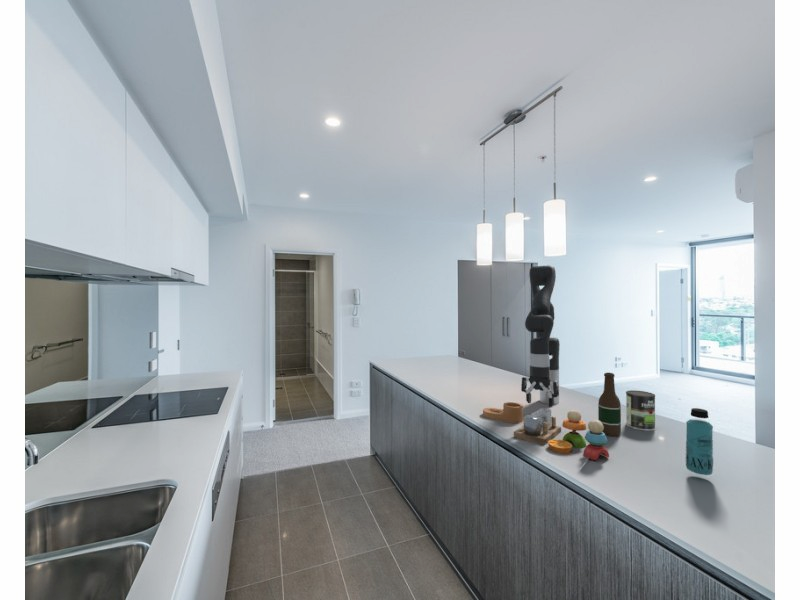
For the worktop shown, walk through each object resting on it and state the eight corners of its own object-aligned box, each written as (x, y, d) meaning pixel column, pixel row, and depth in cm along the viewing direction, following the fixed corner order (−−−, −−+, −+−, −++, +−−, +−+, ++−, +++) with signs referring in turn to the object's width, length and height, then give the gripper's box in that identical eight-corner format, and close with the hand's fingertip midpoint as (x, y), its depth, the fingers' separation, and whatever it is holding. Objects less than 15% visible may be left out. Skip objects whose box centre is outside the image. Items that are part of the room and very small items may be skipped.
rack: (531, 425, 155) (531, 410, 155) (561, 431, 147) (561, 416, 147) (513, 436, 141) (513, 421, 141) (544, 444, 133) (544, 428, 133)
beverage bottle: (680, 470, 113) (679, 406, 113) (699, 469, 114) (699, 405, 114) (699, 481, 106) (698, 412, 107) (719, 480, 107) (719, 412, 107)
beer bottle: (619, 431, 147) (619, 372, 147) (622, 438, 140) (621, 375, 140) (597, 428, 150) (597, 370, 150) (599, 434, 143) (598, 374, 143)
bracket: (525, 419, 163) (525, 404, 163) (519, 424, 156) (519, 408, 156) (487, 412, 173) (487, 398, 173) (480, 417, 167) (480, 401, 167)
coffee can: (661, 430, 148) (661, 395, 149) (640, 432, 146) (640, 397, 146) (640, 421, 159) (640, 389, 159) (620, 423, 156) (620, 390, 157)
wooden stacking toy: (540, 446, 132) (540, 412, 133) (572, 438, 140) (572, 405, 140) (585, 466, 116) (584, 427, 116) (618, 455, 124) (618, 419, 124)
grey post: (539, 421, 153) (539, 407, 153) (553, 424, 149) (553, 410, 149) (521, 433, 140) (521, 417, 140) (537, 437, 136) (537, 421, 136)
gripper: (561, 365, 144) (561, 406, 144) (526, 361, 153) (526, 399, 153) (554, 368, 138) (554, 410, 138) (518, 363, 148) (518, 403, 148)
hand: (539, 404), depth 146 cm, fingers open, 8 cm apart
